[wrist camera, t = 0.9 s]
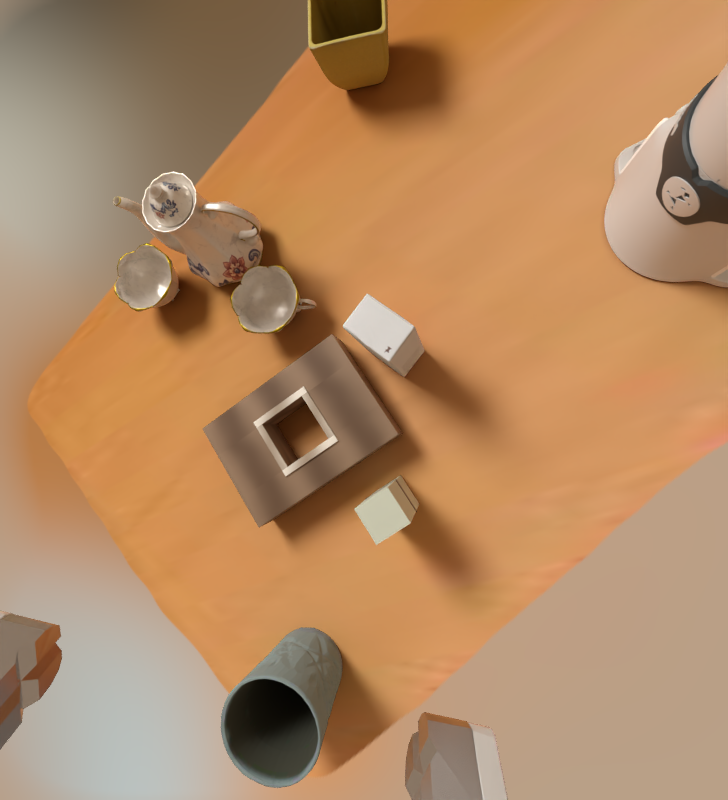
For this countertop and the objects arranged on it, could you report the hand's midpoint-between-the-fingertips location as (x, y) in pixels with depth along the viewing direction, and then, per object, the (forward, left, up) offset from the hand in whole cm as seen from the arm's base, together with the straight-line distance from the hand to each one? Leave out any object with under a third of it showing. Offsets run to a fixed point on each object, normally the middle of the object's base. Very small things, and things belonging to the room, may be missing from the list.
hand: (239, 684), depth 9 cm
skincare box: (-6, -14, -42) cm, 45 cm away
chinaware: (+6, -36, -42) cm, 56 cm away
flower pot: (-23, -47, -42) cm, 67 cm away
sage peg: (+4, +1, -42) cm, 42 cm away
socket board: (+9, -12, -42) cm, 44 cm away
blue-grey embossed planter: (+24, +12, -42) cm, 50 cm away
